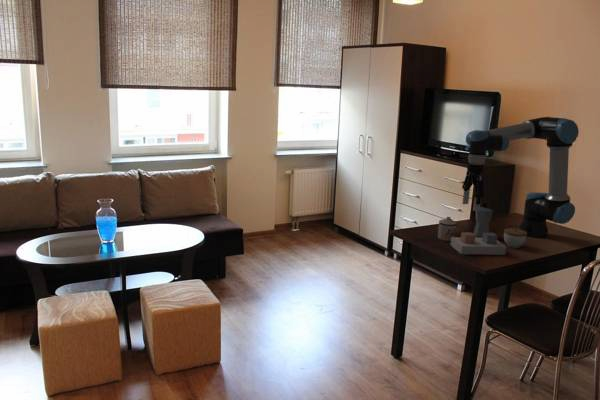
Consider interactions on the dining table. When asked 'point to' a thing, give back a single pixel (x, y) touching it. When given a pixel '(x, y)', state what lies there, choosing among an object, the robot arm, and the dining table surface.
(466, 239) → the terracotta key
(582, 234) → the dining table surface
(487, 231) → the coffee maker
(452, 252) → the dining table surface
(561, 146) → the robot arm
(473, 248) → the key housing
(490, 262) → the dining table surface
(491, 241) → the grey key
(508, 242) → the lidded jar
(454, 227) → the teacup with lid
